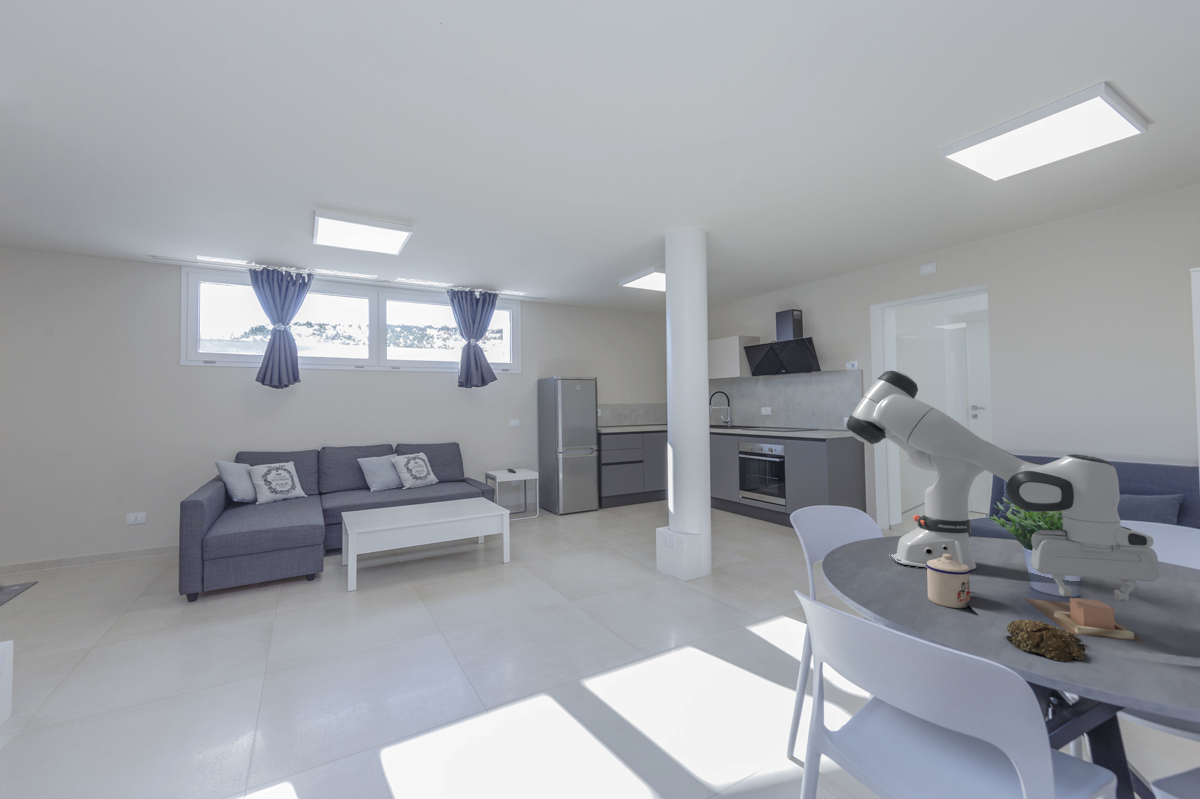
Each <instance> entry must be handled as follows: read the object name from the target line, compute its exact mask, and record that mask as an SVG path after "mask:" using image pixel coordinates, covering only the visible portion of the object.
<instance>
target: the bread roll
mask: <svg viewBox="0 0 1200 799" xmlns="http://www.w3.org/2000/svg"><path fill="white" fill-rule="evenodd" d="M1006 629H1007V632H1008V634H1009V635H1006V638H1007V641H1009V642H1010V643H1011V644H1012V645H1013V647H1015V649H1018V650H1020V651H1023V652H1027V653H1033V654H1039V655H1042V656H1044V657H1046V658H1047V659H1049V660H1052V661H1056V662H1062V663H1063V662H1066V663H1068V662H1071V661H1083V660H1084V659H1085V658H1086V654H1085V652H1086V651H1087V648H1086V647H1085V644H1084V643H1081V639H1080V638H1079V637H1078V636H1077V635H1076V634H1074V633H1072V632H1069V631H1066V630H1065V629H1063V628H1062V629H1061V628H1060V627H1056V626H1055V625H1051V624H1049V623H1045V622H1043V621H1041V620H1031V619H1018V620H1013V621H1010V623H1008V625H1007V626H1006Z"/></svg>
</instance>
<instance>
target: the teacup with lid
mask: <svg viewBox="0 0 1200 799" xmlns="http://www.w3.org/2000/svg"><path fill="white" fill-rule="evenodd" d="M926 566H927V569H926V570H927V571H926V572H927V574H926V575H927V576H926V580H927V581H926V582H927V600H929V601H930V602H932V603H934V604H936V605H939V606H942V607H946V608H953V609H964V608H965V609H966V608H968V607H970V605H969V604H968V602H970V601H971V592H970V590H971V589H970V588H971V587H970V585H971V584H970V573H971V570H970V568H969V567H968V566H967V565H965V564H962V563H960V562H958V561H957V560H955V559H952V555H950V554H943V557H941V558H937V559H935V560H929V561H928V562H927V564H926Z"/></svg>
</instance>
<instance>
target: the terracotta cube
mask: <svg viewBox="0 0 1200 799" xmlns="http://www.w3.org/2000/svg"><path fill="white" fill-rule="evenodd" d="M1069 603H1070V618H1071V619H1072V620H1073V621H1074V622H1076V623H1077V624H1079V625H1080V626H1085V627H1095V628H1105V629H1114V630H1115V627H1114V621H1115V608H1113V607H1111V606H1110V605H1108V604H1106V603H1104V602H1103V601H1101V600H1099V599H1089V598H1078V597H1069Z"/></svg>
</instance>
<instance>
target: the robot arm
mask: <svg viewBox="0 0 1200 799" xmlns="http://www.w3.org/2000/svg"><path fill="white" fill-rule="evenodd" d="M918 391H919V388H918V385H917V383H916V382H915V381H914V380H913V378H911V377H910V376H909V375H908V374H906V373H904V372H901V371H895V370H888V371H885V372H883V373H882V374H881V375H879V377H877V380H876V382H874V383H873V384H872V385H871V387H870V388H868V390H867V391H866V392H865V394H864V395H863V396H862V399H861V400H860V401H859V403H858V404H857V405H856V408H855V409H854V410H853V412H852V415H849V417H848V419H847V422H846V424H845V425H846V429H847V430H848V431H849V433H850V434H851V436H852V437H853V438H855V439H856V440H857V441H860V443H861V442H862V443H864V444H871V445H875V444H878V443H880V442H882V441H883V440H884V439H888V440H889V441H891V442H892V443H893V444H895V445H896V446H898V447H899V448H901V449H902V450H903V451H904V457H905V460H906V461H907V462H908V464H910V465H912V466H914V467H916V468H919V469H922V470H925V471H930V472H931V471H932V472H937V476H936V479H935V481H934V482H933V484H932V485H929V486H928V487H927V488H926V489H925V490H924V514H923V515H922V516H920V515H918V514H914V515H913V518H912V519H913V520H914V521H915V522H917V527H916V528H914V529H912V530H911V531H908V532H907V533H906V534H904V535H902V536H901V537H900V538H899V540H898V543H897V547H896V548H897V549H896V551H897V553H896V554H894V555H893V554H892V555H891V556H892V557H893V558H894V559H895V560H896V561H898V560H901V561H898V562H900V563H903V564H908V565H915V566H921V567H927V566H926V564H927V562H928V561H929V560H935V559H937V558H941V557H943V554H950V555H952V559H955V560H957V561H958V562H960V563H962V564H965V565H967V566H968V567H969V568H970V571H972V570H974V569H976V568H977V564H976V562H975V560H974V559H975V558H974V556H973V551H972V546H971V534H972V526H971V520H970V519H969V495H970V490H971V487H972V486H973V483H974V481H975V480H976V479H977V477H978V476H979V475H981V474H982V473H984V472H985V471H987V472H989V473H990V474H992V475H994V476H996V477H998V478H1000V479H1002V480H1004V481H1005V482H1006V485H1005V486H1006V487H1005V490H1006V491H1005V492H1006V494H1007V496H1008V499H1009V500H1010V501H1011V502H1012V503H1013V504H1014V505H1015V506H1016V507H1018V508H1020V509H1022V510H1024V511H1027V512H1033V513H1045V512H1061V514H1062V530H1061V529H1060V530H1057V529H1056V530H1055V529H1054V530H1053V529H1052V530H1049V529H1039V530H1038V531H1035V532H1034V533H1033V534H1032V535H1031V546H1032V549H1031V550H1032V551H1031V557H1030V558H1031V560H1030V563H1031V564H1030V565H1031V567H1033V569H1034V570H1035V571H1037V572H1039V573H1040V574H1043V575H1051V576H1052V579H1053V580H1054V582H1055V583H1056V584H1057V585H1058V592H1059V594H1060V596H1062V597H1072V596H1073V593H1072V592H1073V589H1072V588H1071V587H1069V586H1068V585H1066V584H1065V582H1064V581H1065V580H1066V576H1068V577H1070V576H1071V577H1082V578H1099V579H1108V580H1109V579H1111V580H1120V582H1121V583H1122V584H1121V586H1120V587H1119V589H1114V590H1113V591H1114V594H1113V595H1114V598H1115V600H1118V601H1121V602H1129V601H1130V599H1129V598H1130V596H1129V594H1130V593H1131V592H1132V591H1133V590H1134V589H1135V587H1136V583H1137V581H1138V582H1150V583H1151V582H1152V583H1153V582H1156V581H1157V580H1158V579H1159V578H1160V564H1159V559H1158V555H1157V552H1156V551H1155V550H1154V549H1153V548H1152V547H1153V545H1154V538H1153V537H1152V536H1150V535H1148V534H1145V533H1143V532H1140V531H1138V530H1137V531H1136V530H1133V529H1131V528H1129V527H1126V526H1121V518H1120V516H1119V512H1118V506H1119V503H1120V497H1121V495H1120V485H1119V484H1120V483H1119V478H1118V473H1117V469H1116V468H1115V466H1114V465H1113V464H1111V462H1109V461H1108V460H1105V459H1103V458H1099V457H1096V456H1089V455H1084V454H1077V453H1076V454H1074V453H1071V454H1066V455H1064V456H1063V457H1061V458H1059V459H1057V460H1054V461H1051V462H1048V463H1042V462H1035V461H1031V460H1030V461H1029V460H1025V459H1023V458H1020V457H1018V456H1016V455H1015V454H1012V453H1010V452H1008V451H1006V450H1004V449H1002V448H1000V447H999V446H996V445H995V444H992V443H991V442H989V441H986V440H984V439H983V438H982V437H980V436H978V435H977V434H975V433H974V432H972V431H971V430H969V429H968V428H967V427H966V426H964V425H963V424H961V423H959V421H957V420H955V419H954V418H952V417H951V416H950V415H949V414H947V413H945V412H944V411H941V410H940V409H938V408H935V407H934V406H932V405H929V404H928V403H925V402H923V401H921V400H919V399H916V396H917V393H918ZM897 559H898V560H897Z"/></svg>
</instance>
